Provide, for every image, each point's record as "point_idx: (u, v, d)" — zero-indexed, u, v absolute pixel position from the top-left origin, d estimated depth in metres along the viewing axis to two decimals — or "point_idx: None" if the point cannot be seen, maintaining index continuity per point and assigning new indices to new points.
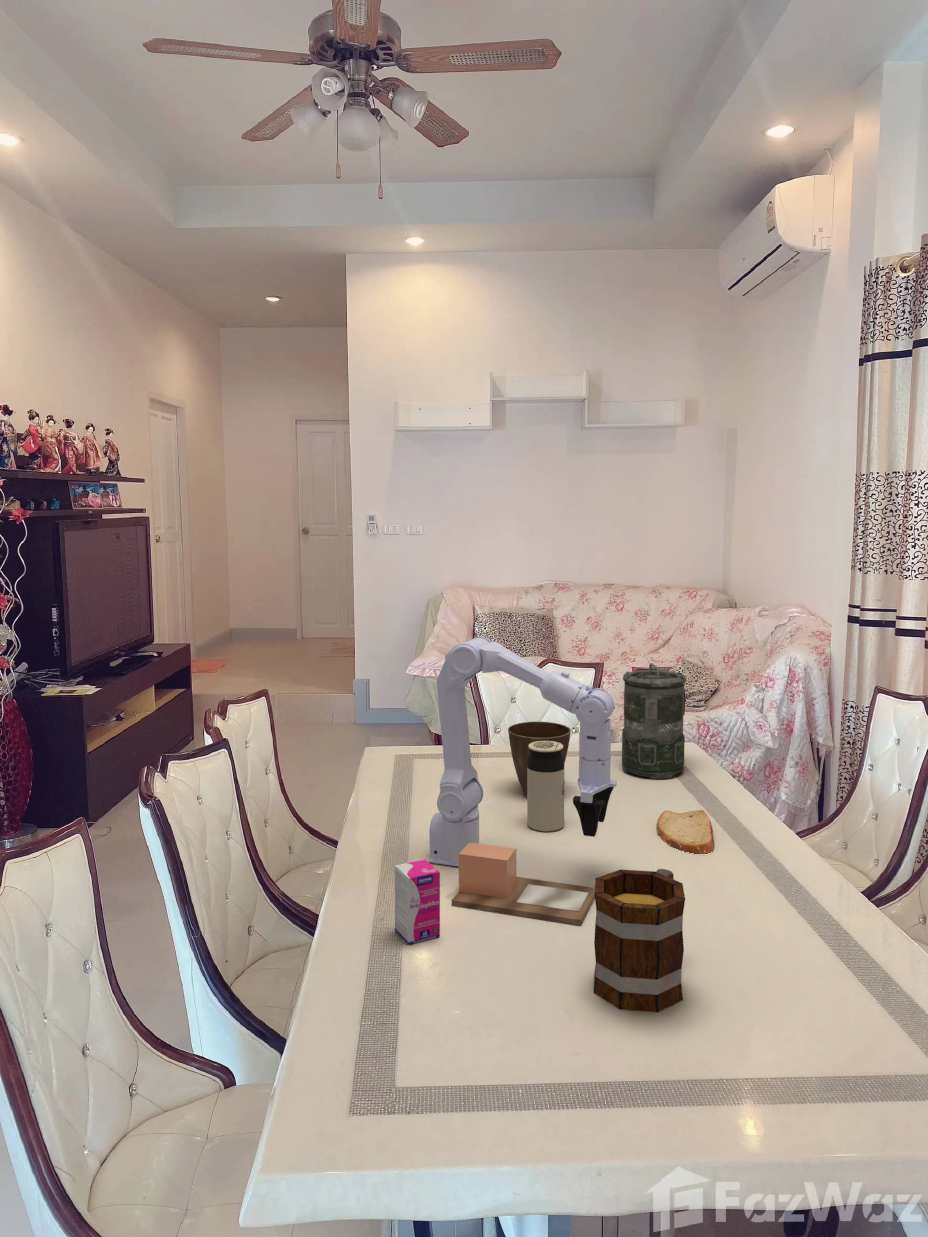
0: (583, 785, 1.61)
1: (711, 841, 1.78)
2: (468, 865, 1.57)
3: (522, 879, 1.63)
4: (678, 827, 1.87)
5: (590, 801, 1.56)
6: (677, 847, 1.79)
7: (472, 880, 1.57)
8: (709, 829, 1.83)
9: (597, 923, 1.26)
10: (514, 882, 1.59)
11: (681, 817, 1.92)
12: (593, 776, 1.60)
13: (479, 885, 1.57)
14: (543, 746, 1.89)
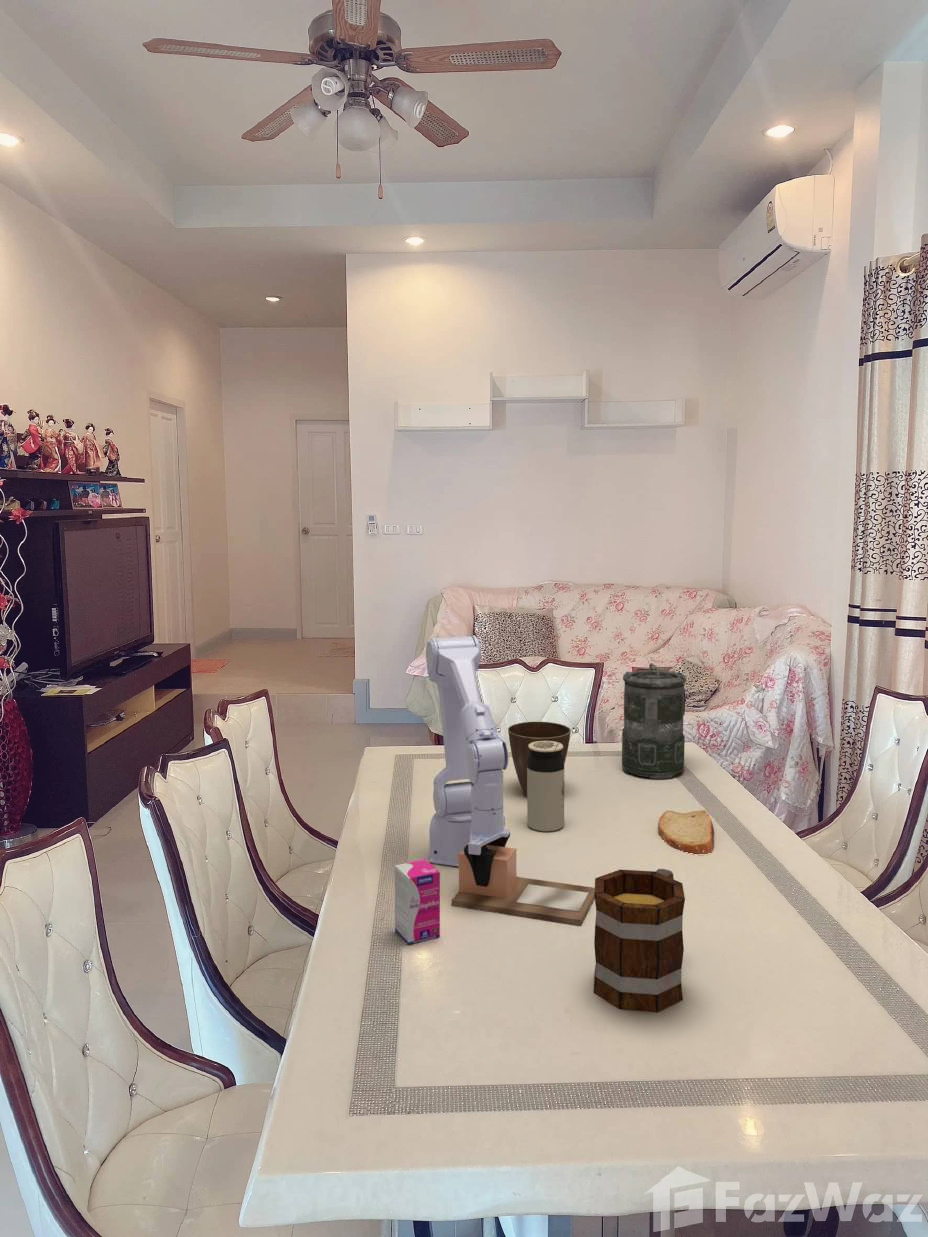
0: (474, 835, 1.56)
1: (710, 841, 1.78)
2: (468, 865, 1.57)
3: (522, 879, 1.63)
4: (679, 827, 1.87)
5: (478, 853, 1.51)
6: (676, 847, 1.79)
7: (472, 880, 1.57)
8: (709, 829, 1.83)
9: (597, 923, 1.26)
10: (514, 882, 1.59)
11: (683, 817, 1.92)
12: (484, 826, 1.55)
13: None
14: (543, 746, 1.89)
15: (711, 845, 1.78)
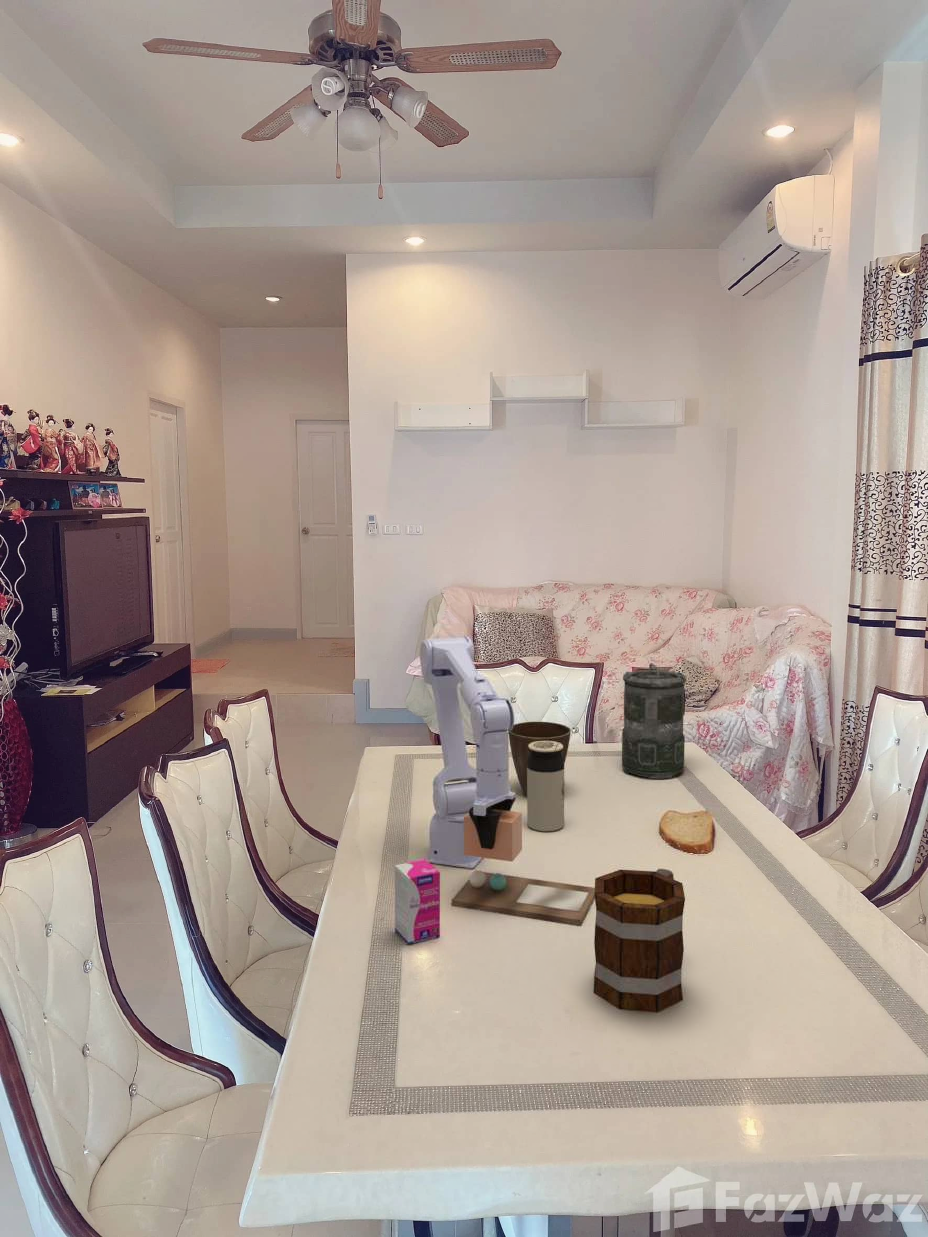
0: (479, 797, 1.55)
1: (710, 841, 1.78)
2: (473, 828, 1.56)
3: (522, 879, 1.63)
4: (680, 826, 1.87)
5: (483, 814, 1.50)
6: (676, 846, 1.79)
7: (477, 844, 1.56)
8: (710, 830, 1.82)
9: (597, 923, 1.26)
10: (519, 846, 1.58)
11: (685, 817, 1.92)
12: (489, 788, 1.54)
13: (484, 848, 1.56)
14: (543, 746, 1.89)
15: (711, 845, 1.78)
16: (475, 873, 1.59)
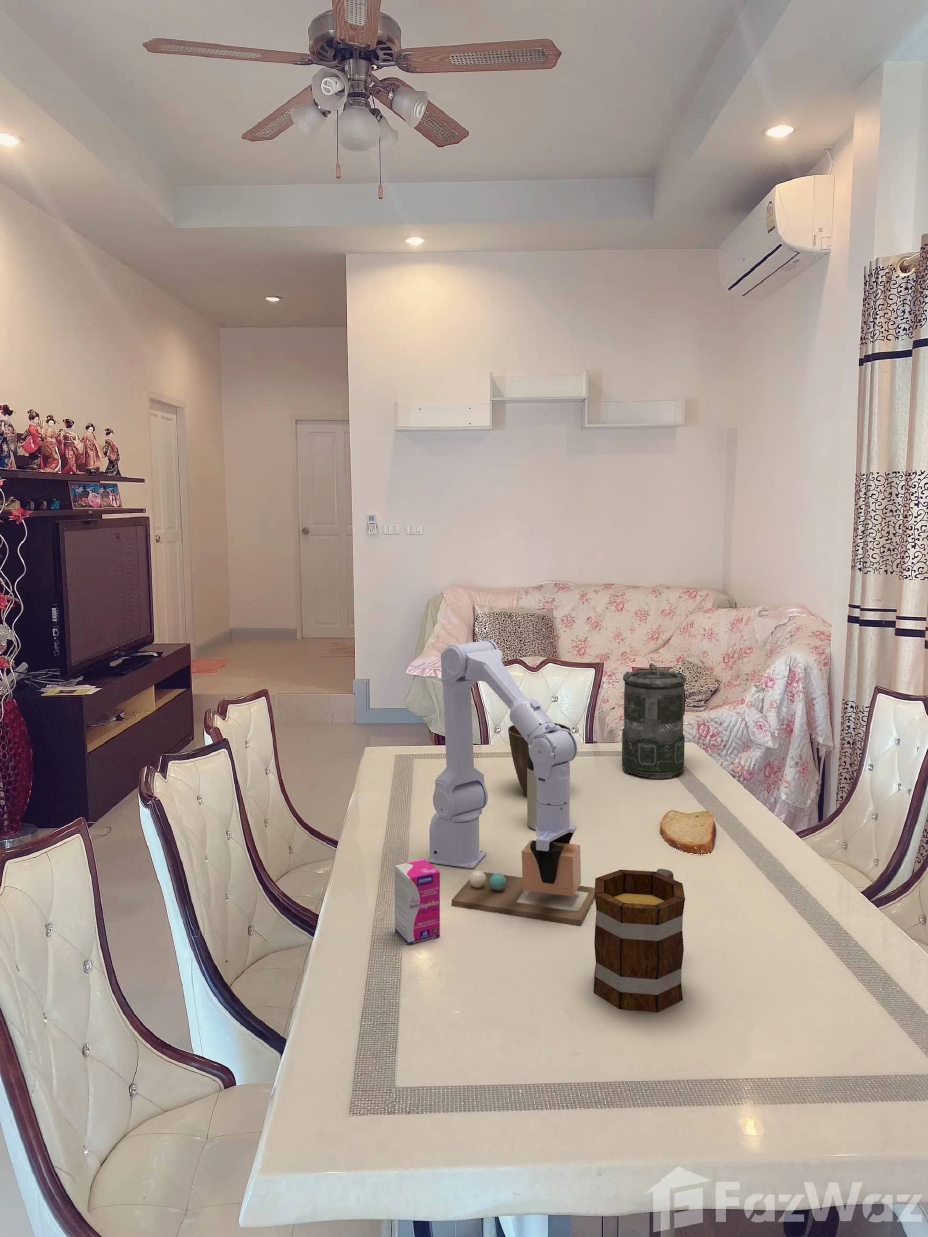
0: (540, 831, 1.52)
1: (710, 841, 1.78)
2: (532, 863, 1.53)
3: (522, 879, 1.63)
4: (681, 826, 1.87)
5: (546, 849, 1.47)
6: (675, 846, 1.79)
7: (536, 878, 1.53)
8: (710, 830, 1.82)
9: (597, 923, 1.26)
10: (579, 879, 1.55)
11: (686, 817, 1.92)
12: (550, 822, 1.51)
13: (544, 883, 1.53)
14: None
15: (710, 845, 1.78)
16: (475, 873, 1.59)
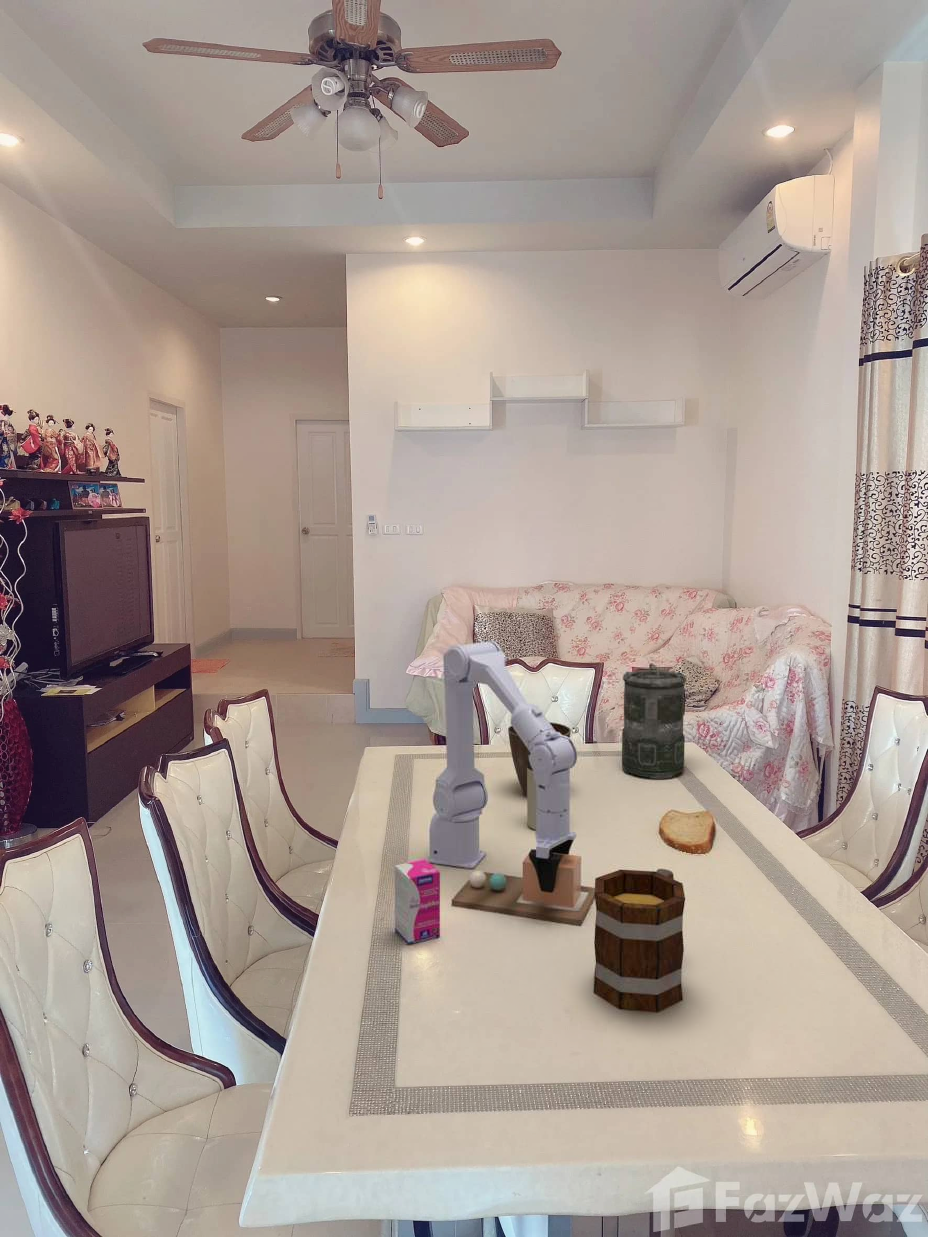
0: (540, 838, 1.52)
1: (708, 842, 1.78)
2: (532, 873, 1.53)
3: (522, 879, 1.63)
4: (680, 826, 1.87)
5: (546, 856, 1.47)
6: (673, 846, 1.79)
7: (537, 889, 1.53)
8: (709, 830, 1.82)
9: (597, 923, 1.26)
10: (579, 891, 1.55)
11: (686, 817, 1.92)
12: (550, 829, 1.51)
13: (544, 894, 1.53)
14: None
15: (708, 846, 1.78)
16: (475, 873, 1.59)
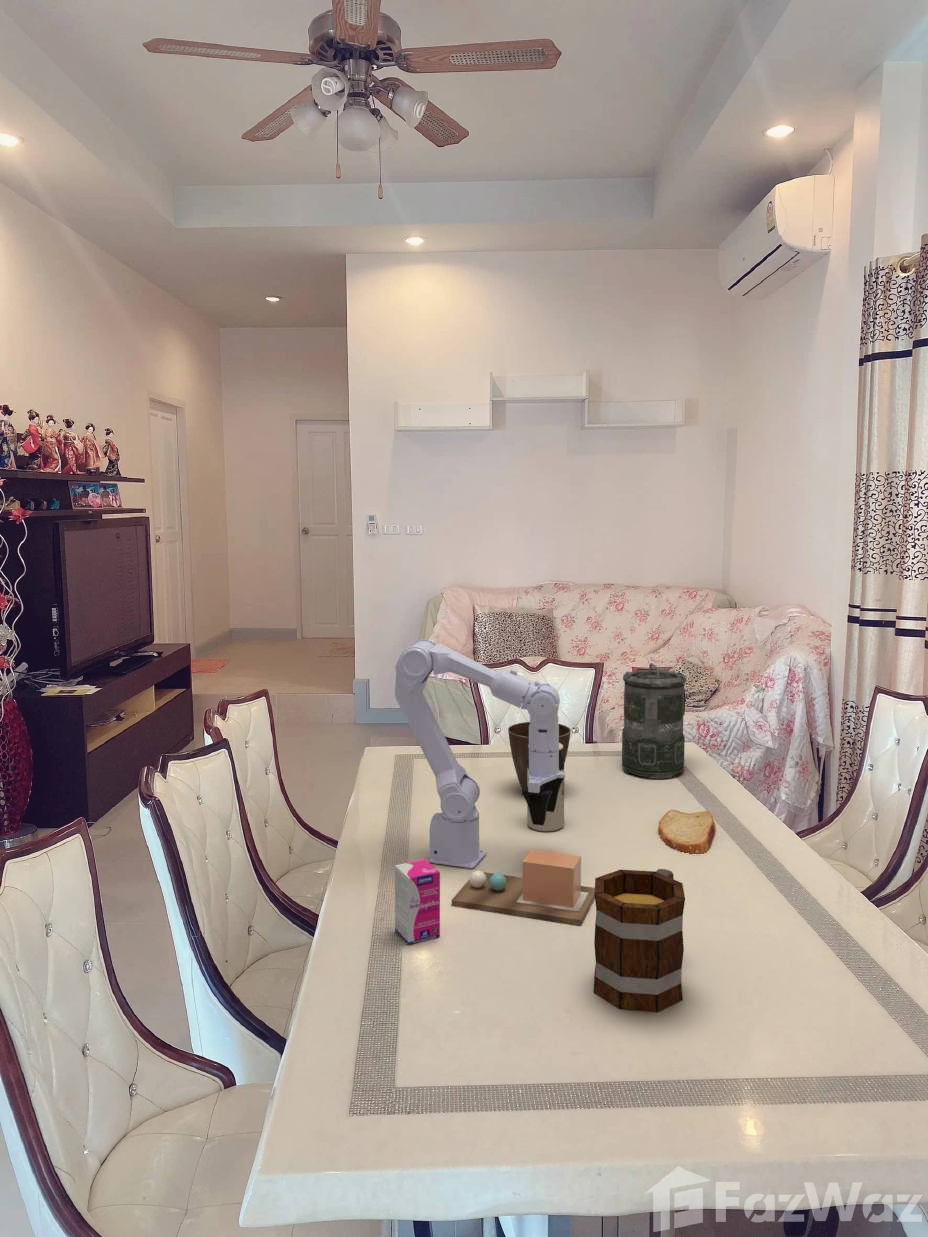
0: (532, 776, 1.68)
1: (706, 842, 1.78)
2: (532, 873, 1.53)
3: (522, 879, 1.63)
4: (679, 826, 1.87)
5: (537, 791, 1.63)
6: (671, 846, 1.80)
7: (537, 889, 1.53)
8: (707, 830, 1.82)
9: (597, 923, 1.26)
10: (579, 891, 1.55)
11: (686, 817, 1.92)
12: (541, 768, 1.67)
13: (544, 894, 1.53)
14: None
15: (706, 846, 1.78)
16: (475, 873, 1.59)
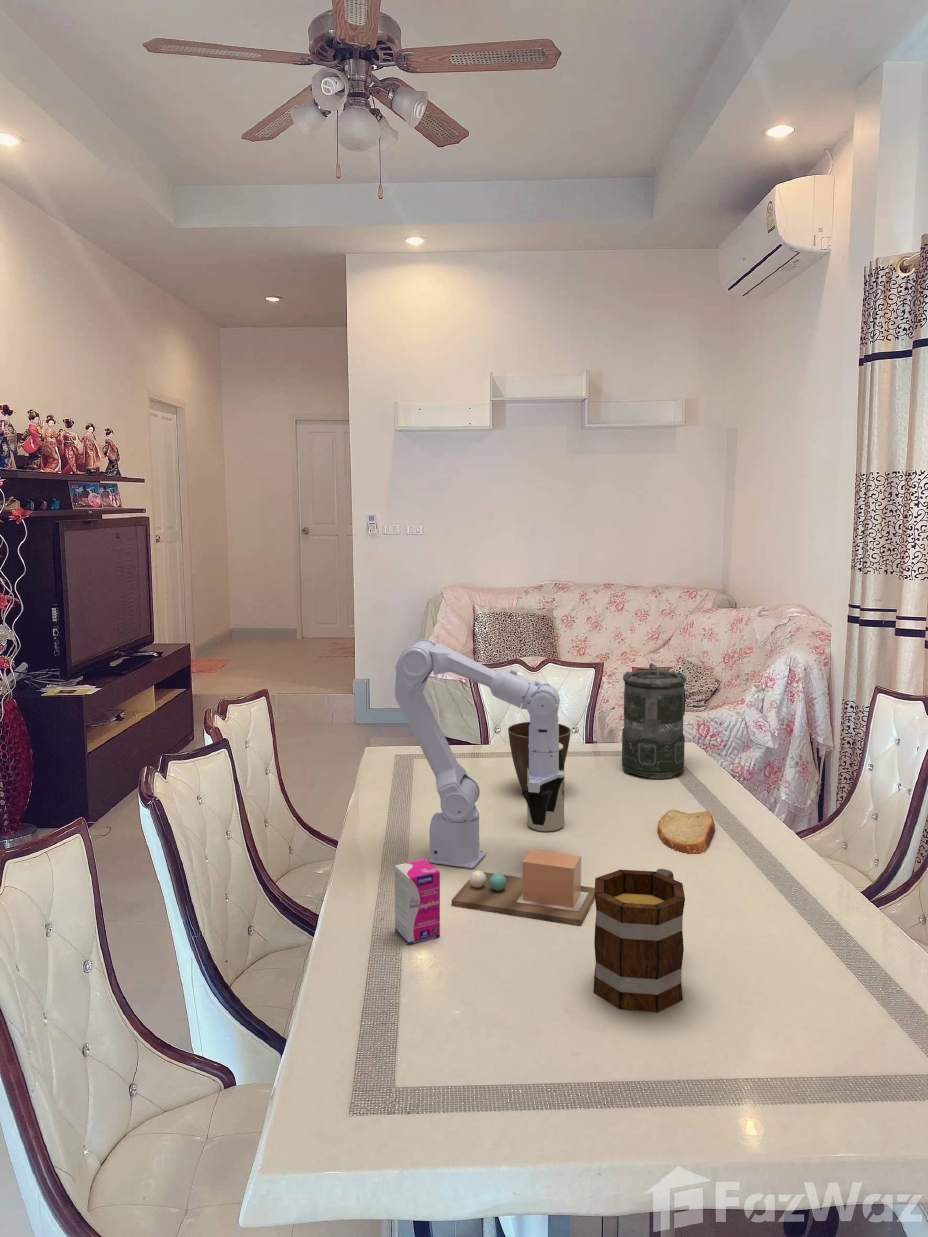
0: (532, 776, 1.68)
1: (704, 842, 1.78)
2: (532, 873, 1.53)
3: (522, 879, 1.63)
4: (678, 826, 1.87)
5: (537, 791, 1.63)
6: (669, 845, 1.80)
7: (537, 889, 1.53)
8: (706, 830, 1.82)
9: (597, 923, 1.26)
10: (579, 891, 1.55)
11: (686, 817, 1.92)
12: (541, 768, 1.67)
13: (544, 894, 1.53)
14: None
15: (704, 846, 1.78)
16: (475, 873, 1.59)
